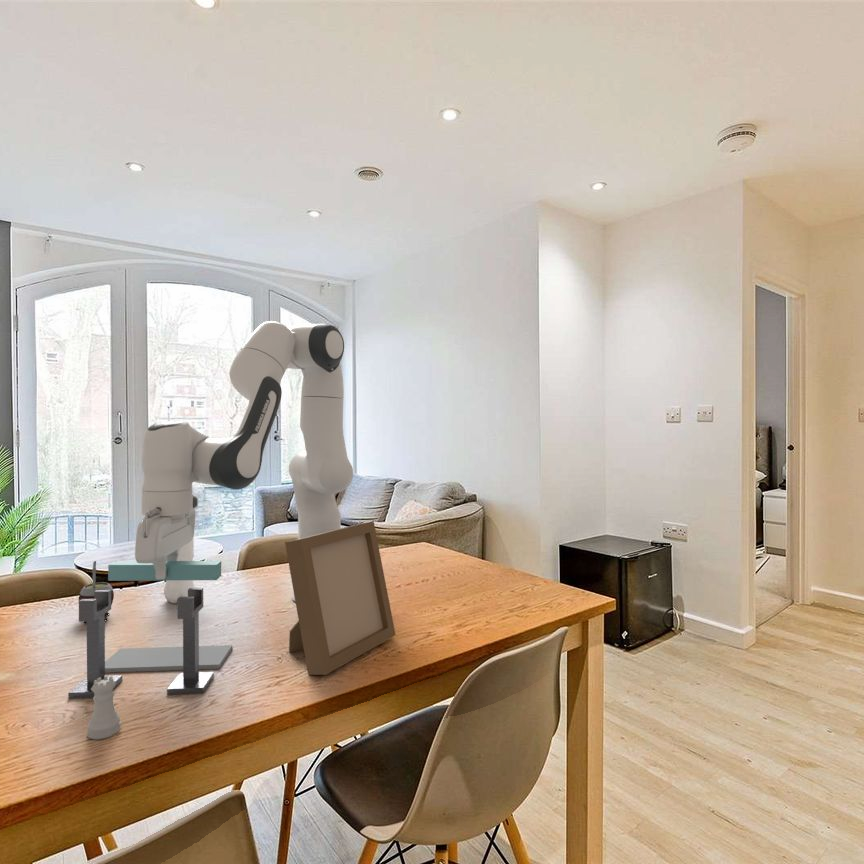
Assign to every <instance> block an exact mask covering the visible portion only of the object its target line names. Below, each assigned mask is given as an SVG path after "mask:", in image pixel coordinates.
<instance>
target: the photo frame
mask: <svg viewBox="0 0 864 864" xmlns="http://www.w3.org/2000/svg"><path fill="white" fill-rule="evenodd" d="M377 537H378V536H377V531H376V527H375V521H374V520H372V521H367V522H362V523H358V524H352V525H349V526H344V527H341V528H340V529H336V530H332V531H328V532H324V533H320V534H316V535H312V536H308V537H304V538H300V539H298V538H296V539H293V540H289V541H285V542H284V545H285V550H286V556H287V560H288V561H287V562H288V568H289V572H290V579H291V585H292V590H293V592H294V596H295V601H294V602H295V607H296V612H297V618H298V620H297V622H296V623H294V625H293V626H292V628H291V629H290V630H289V635H288V636H289V638H288V641H289V642H288V643H289V645H288V652H289V653H294V652H299V651H300V652H301V651H303V652H304V657H305V658H304V659H305V665H306V668H307V669H306V670H307V674H308V675H309V676H311V675H313V676H317V675H318V676H319V675H321V676H323V675H324V676H325V675H327V674H329V673H331V672H333V671H334V670H337V669H338V668H340V667H341V666H343V665H345V664H347V663H348V662H350V661H352V660H354V659H356V658H358V657H360V656H362V655H363V654H365V653H366V652H368V651H370V650H372V649H374V648H375V647H377V646H379V645H381V644H382V643H385V642H386V641H388V640H389V639H391V638H393V637H394V636H396V629H395V625H394V619H393V615H392V610H391V605H390V599H389V594H388V588H387V583H386V578H385V574H384V573H385V572H384V567H383V563H382V557H381V552H380V547H379V542H378V538H377Z"/></svg>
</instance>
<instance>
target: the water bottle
mask: <svg viewBox="0 0 864 864" xmlns="http://www.w3.org/2000/svg"><path fill="white" fill-rule="evenodd" d="M194 538H195V535H194V536H193V539H192V541H191V542H189V543H187V544H186V545H184V546H183V547H181V548H180V553H179V557H178V561H194V560H193V559H194V557H195V554H194V553H195V552H194V551H195V550H194V547H195V545H194V544H195V541H194V540H195V539H194ZM189 588H195V584H194V580H165V585H164V588H163V595H164V597H165V600H166V601H167V602H169V603H171V604H177V599H178V598H179V597H188V589H189Z"/></svg>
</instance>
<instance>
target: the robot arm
mask: <svg viewBox="0 0 864 864" xmlns="http://www.w3.org/2000/svg"><path fill="white" fill-rule="evenodd" d="M344 352H345V340H344V337H343V335H342V333H341V332H340V330H339V329H338V328H337V327H336V326H334V325H332V324H329V323H328V324H327V323H323V322H322V323H321V322H320V323H300V324H296V325H289V326H286V325H285V324H283V323H281V322H277V321H275V320H274V321H273V320H270V321H264V322H263V323H261V324H260V325H258V327H256V329H255V330H254V331H253V332H252V333H251V334H250V335H249V336H248V338H247V339H246V340H245V342H244V343H243V344H242V346H241V348H240V349H239V351H238V352H237V354H236V355H235V357H234V360H233V361H232V363H231V366H230V370H229V373H228V374H229V379H230V383H231V384H232V386H233V388H234V389H235V390H236V391H237V392H238V393H239V394H240V396H242V397H244V399H247V400H248V406H247V408H246V410H245V412H244V415H243V418H242V420H241V422H240V425H239V427H238V430H237V431H236V433H234V434H233V435H232V436H230V437H227V438H218V437H217V438H216V437H209V435H206V434H204V433H202V432H199V431H198V430H196V429H195V428H193V427H192V426H191V424H190V423H189V422H188V421H186V420H167V421H166V420H165V421H161V422H156V423H153V424H151V425H150V426H149V427H148V428H146V431H145V434H144V436H143V437H144V439H143V444H142V445H143V446H142V457H141V458H142V459H141V461H142V462H141V468H142V472H143V478H144V479H143V483H142V487H141V515H142V516H144V518H143V519H142V520H141V521H139V523H138V524H137V525H138V526H137V529H136V537H135V549H134V559H135V561H137V563H153V566H154V568H155V578H156V579H165V578H166V577H167V576H168V568H166V561H178V557H179V553H180V548H181V547H183V546H184V545H186V544H187V543H189V542H191V541H192V539H193V536H194V537H195V528H196V515H197V514H196V509H197V508H198V506H199V498H198V497H197V496H196V495H194V494H193V484H194V483H195V484H196V483H197V484H204V485H209V486H210V485H211V486H220V487H223V488H225V489H231V490H236V491H237V490H242V489H244V488H247V487H248V486H250V485H251V484H252V483H254V481H255V480H256V478H257V476H258V475H259V473H260V470H261V468H262V462H263V455H264V451H265V448H266V444H267V441H268V437H269V436H270V432H271V430H272V428H273V425H274V421H275V419H276V416H277V413H278V410H279V407H280V405H281V401H282V392H283V391H282V386H281V385H280V384H281V381H282V379H283V376H284V375H285V373H286V371H287V369H291V370H292V369H294V370H301V373H302V375H303V376H302V383H301V384H302V385H301V392H300V394H301V395H300V418H299V419H300V420H299V427H300V430H301V432H302V435H303V441H304V446H305V450H302V451H300V452H298V453H296V454H295V455H294V456H293V457H292V458H291V460H290V461H289V464H288V473H289V476H290V479H291V481H292V487H293V493H294V499H295V504H296V510H297V517H298V518H297V530H298V531H297V536H298V537H297V539H300V538H304V537H308V536H312V535H316V534H320V533H324V532H328V531H332V530H336V529H340V528H342V524H341V518H342V517H341V512H340V509H339V507H338V505H337V501H336V497H335V494H338V493H341V492H344V491H345V490H346V489H347V488H349V486H350V485H351V483H352V482H353V478H354V468H353V465H352V463H351V462H350V460H349V457H348V452H347V448H346V443H345V442H346V441H345V435H344V428H343V427H344V420H343V419H344V397H345V396H344V395H345V394H344V393H345V391H344V378H343V370H342V365H341V361H342V359H343V357H344V354H345V353H344ZM291 599H292V600H293V601H294V602H295V596H294V591H293V592H292V596H291Z"/></svg>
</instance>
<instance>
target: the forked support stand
mask: <svg viewBox="0 0 864 864" xmlns="http://www.w3.org/2000/svg"><path fill="white" fill-rule="evenodd" d="M176 604H177V605H176V606H177V620H182V645H183V646H182V647H183V670H182V671H183V672H179V674H178V675H177V676H176V677H175V678H174V679H173V681H172V682H171V683H170V684H169V686H168V687H167V689H166V695H168V696H172V695H194V694H195V695H196V694H200V695H201V694H204V693H205V691H206V690H207V688H208V687H209V686H210V684H211V682H212V681H213V680H214V678H215V671H208V672H207V671H202V672H201V671H200V669H199V646H200V644H199V643H200V640H199V639H200V636H199V632H200V630H199V629H200V628H199V627H200V626H199V624H200V623H199V619H200V618H199V615H200V613H199V612H200V611H201V610H202V609H203V608H204V587H194V588H189V589H188V597H179V598H178V599H177V603H176ZM111 610H112V605H111V590H96V591H95V592H94V599H81V600H80V601H79V600H78V622H81V623H82V622H83V623H84V622H86V621H87V624H86V677H85V678H83V679H82V680H81V681H80V682H79V683H78V684H76V685H75V686H74V687H73V688H72V689H71V690H70V691H69V692H68V694H67V695H68V697H67V699H93V697H94V695H95V693H94V692H93V691H92V690H91V688H92V686H93V685H94V681H95V680H97V679H98V678H100V677H101V680H104V676H106V673H105V661H106V644H105V643H106V639H105V637H106V633H105V632H106V631H105V630H106V629H105V627H106V625H105V622H106V621H105V613H106V612H108V613H109V611H111ZM107 676H108V679H109V677H110V676H112V677H113V681H115V682H116V685H115V687H114V688H113V690H114V689H115V688H117V687H118V685H120V683H122V682H123V675H122V674H114V675H113V674H112V675H107Z"/></svg>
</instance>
